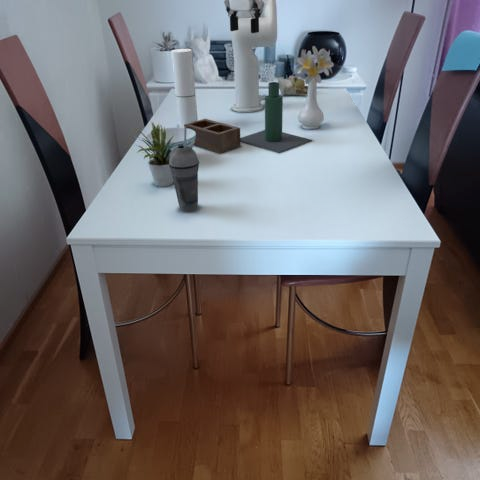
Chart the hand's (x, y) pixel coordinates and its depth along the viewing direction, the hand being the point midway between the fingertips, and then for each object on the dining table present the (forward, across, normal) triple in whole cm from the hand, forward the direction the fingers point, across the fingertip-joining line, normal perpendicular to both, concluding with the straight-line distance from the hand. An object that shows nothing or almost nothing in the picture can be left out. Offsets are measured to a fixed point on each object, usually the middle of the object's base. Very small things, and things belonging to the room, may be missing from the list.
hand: (244, 31), depth 162 cm
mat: (+30, -19, +6) cm, 36 cm away
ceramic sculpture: (+31, +18, -47) cm, 59 cm away
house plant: (+31, -20, +54) cm, 65 cm away
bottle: (+30, -19, +6) cm, 36 cm away
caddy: (+30, -6, +22) cm, 38 cm away
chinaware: (+31, -8, +40) cm, 51 cm away
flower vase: (+31, -19, -14) cm, 39 cm away
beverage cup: (+31, -40, +60) cm, 78 cm away
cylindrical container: (+31, +18, +13) cm, 38 cm away
